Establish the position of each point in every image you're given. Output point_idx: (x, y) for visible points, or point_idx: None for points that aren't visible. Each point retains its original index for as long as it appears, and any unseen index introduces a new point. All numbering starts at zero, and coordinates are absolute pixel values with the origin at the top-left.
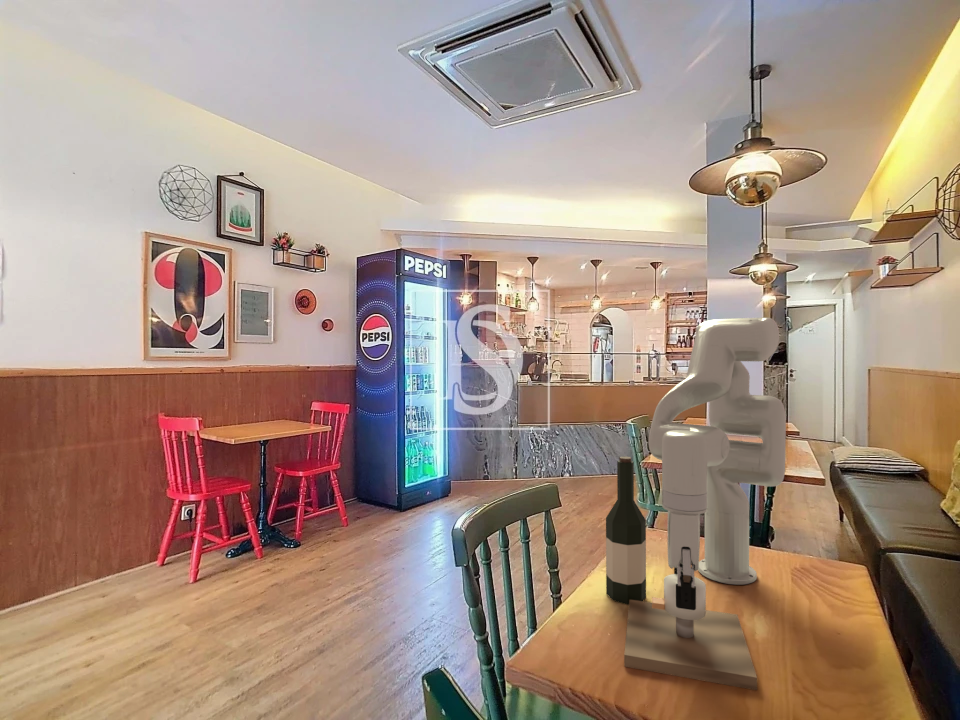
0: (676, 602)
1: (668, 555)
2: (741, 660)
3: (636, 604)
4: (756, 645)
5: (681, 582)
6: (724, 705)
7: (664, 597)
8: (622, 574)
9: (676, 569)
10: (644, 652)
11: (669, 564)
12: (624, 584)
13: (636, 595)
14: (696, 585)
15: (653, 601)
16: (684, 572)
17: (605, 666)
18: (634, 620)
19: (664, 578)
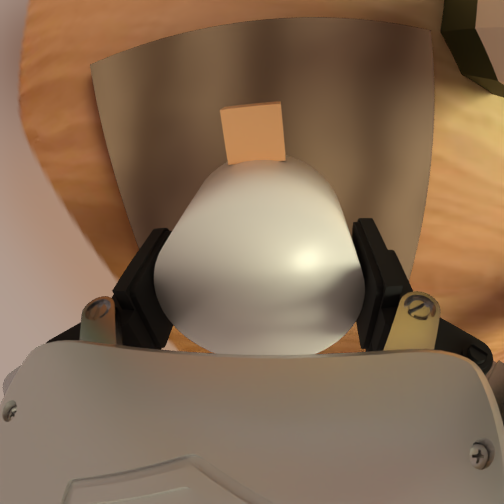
0: (148, 238)
1: (48, 407)
2: None
3: (406, 47)
4: None
5: (59, 335)
6: (103, 247)
7: (236, 171)
8: (496, 11)
9: (374, 287)
10: (119, 103)
11: (27, 357)
12: (475, 19)
13: (467, 59)
14: (245, 340)
15: (235, 115)
16: (5, 386)
17: (91, 31)
18: (289, 38)
19: (267, 207)
